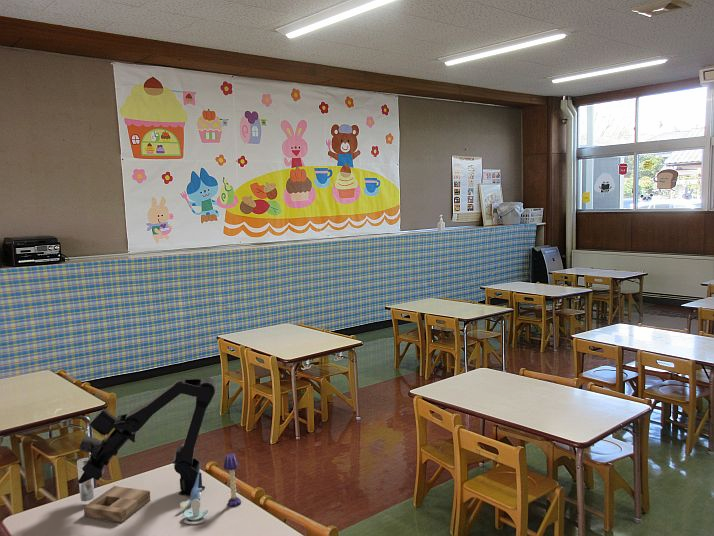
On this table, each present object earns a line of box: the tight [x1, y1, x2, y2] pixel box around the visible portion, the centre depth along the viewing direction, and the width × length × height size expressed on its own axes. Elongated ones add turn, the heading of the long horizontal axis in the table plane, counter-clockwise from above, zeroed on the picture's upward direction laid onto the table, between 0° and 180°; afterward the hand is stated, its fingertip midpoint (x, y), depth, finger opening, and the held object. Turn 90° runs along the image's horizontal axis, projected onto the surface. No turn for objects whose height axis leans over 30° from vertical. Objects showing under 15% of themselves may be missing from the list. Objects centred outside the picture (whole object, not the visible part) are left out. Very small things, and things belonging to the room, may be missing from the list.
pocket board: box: [83, 485, 151, 524], centre depth 191 cm, size 14×14×4 cm
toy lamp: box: [223, 452, 242, 508], centre depth 191 cm, size 5×5×17 cm
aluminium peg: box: [76, 457, 95, 502], centre depth 193 cm, size 4×4×13 cm
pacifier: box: [183, 499, 209, 525], centre depth 182 cm, size 7×6×6 cm
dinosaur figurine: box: [179, 462, 203, 512], centre depth 193 cm, size 3×15×10 cm
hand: (80, 479), depth 193 cm, fingers closed on aluminium peg, 4 cm apart
